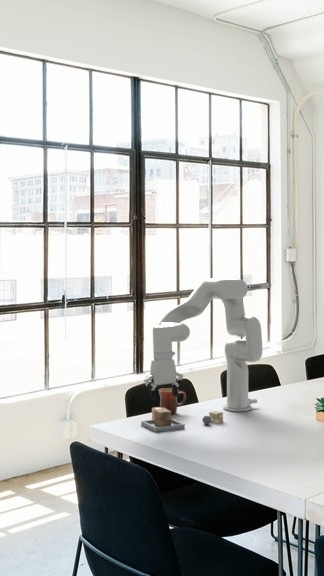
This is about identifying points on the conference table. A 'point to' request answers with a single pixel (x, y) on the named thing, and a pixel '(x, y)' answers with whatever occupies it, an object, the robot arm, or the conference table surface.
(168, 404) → the mug
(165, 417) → the walnut block
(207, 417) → the grey ball
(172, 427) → the tray
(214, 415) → the beech cube
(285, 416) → the conference table surface
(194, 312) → the robot arm
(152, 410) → the beige short cylinder
